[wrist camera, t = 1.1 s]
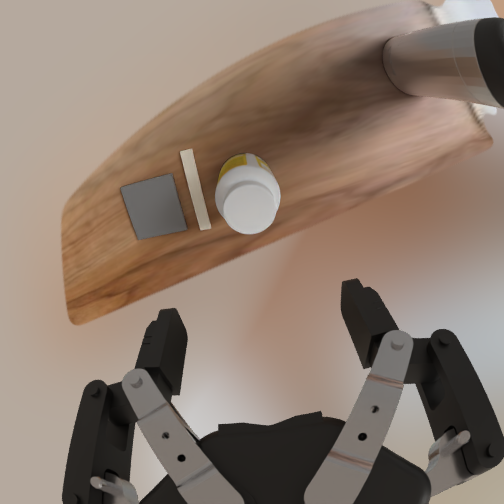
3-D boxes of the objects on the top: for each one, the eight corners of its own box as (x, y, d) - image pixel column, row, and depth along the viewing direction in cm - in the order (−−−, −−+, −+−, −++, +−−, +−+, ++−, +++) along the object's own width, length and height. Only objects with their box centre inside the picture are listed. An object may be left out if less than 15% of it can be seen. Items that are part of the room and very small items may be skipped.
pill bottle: (210, 186, 34) (198, 223, 24) (235, 142, 31) (234, 160, 21) (254, 209, 36) (261, 254, 26) (280, 168, 33) (300, 198, 23)
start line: (192, 148, 31) (191, 148, 31) (211, 227, 37) (211, 228, 36) (180, 151, 31) (179, 151, 31) (200, 229, 37) (200, 230, 36)
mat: (172, 172, 32) (171, 173, 32) (187, 228, 37) (187, 229, 36) (121, 186, 33) (120, 188, 32) (139, 238, 37) (138, 240, 36)
